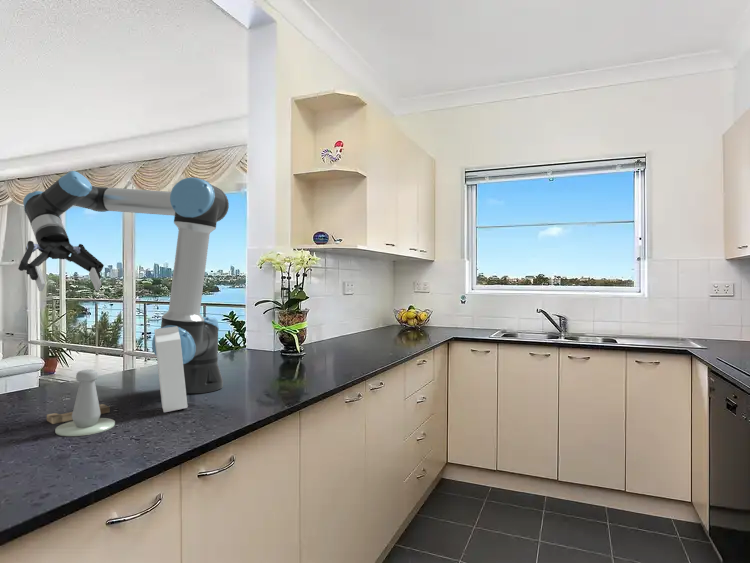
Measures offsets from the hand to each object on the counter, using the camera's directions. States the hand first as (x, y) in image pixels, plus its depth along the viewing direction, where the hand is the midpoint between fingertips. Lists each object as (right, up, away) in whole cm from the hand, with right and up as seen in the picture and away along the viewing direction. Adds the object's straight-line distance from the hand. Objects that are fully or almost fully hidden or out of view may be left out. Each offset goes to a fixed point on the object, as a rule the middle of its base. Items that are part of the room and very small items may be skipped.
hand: (71, 287), depth 127 cm
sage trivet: (+13, -33, -15) cm, 39 cm away
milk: (+27, -33, +2) cm, 43 cm away
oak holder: (+6, -33, -7) cm, 34 cm away
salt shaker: (+13, -33, -15) cm, 38 cm away
